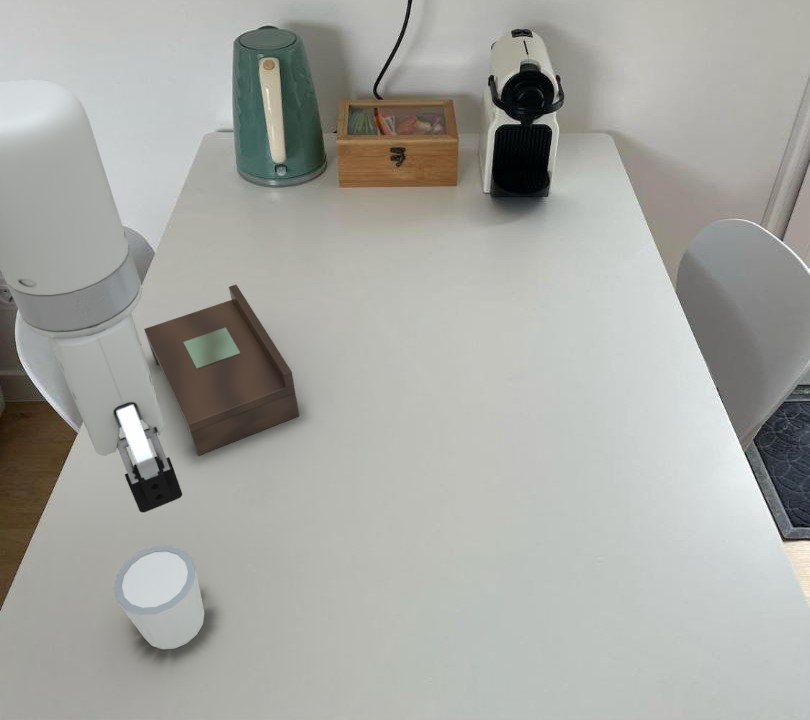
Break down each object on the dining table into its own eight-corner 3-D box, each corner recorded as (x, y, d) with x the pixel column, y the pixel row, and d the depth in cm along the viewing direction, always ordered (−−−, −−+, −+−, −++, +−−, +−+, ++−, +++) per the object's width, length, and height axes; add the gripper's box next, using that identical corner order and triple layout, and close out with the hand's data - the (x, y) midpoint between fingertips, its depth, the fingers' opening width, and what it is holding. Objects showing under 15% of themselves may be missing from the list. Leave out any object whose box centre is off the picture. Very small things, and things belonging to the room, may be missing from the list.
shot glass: (226, 607, 75) (212, 564, 70) (175, 669, 70) (156, 628, 66) (171, 575, 77) (153, 532, 73) (118, 633, 73) (96, 591, 68)
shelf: (198, 456, 88) (184, 411, 84) (154, 359, 100) (139, 315, 95) (299, 416, 92) (291, 371, 88) (245, 327, 104) (236, 284, 99)
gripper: (-5, 234, 56) (72, 406, 67) (39, 386, 44) (123, 562, 56) (104, 203, 58) (161, 375, 70) (172, 341, 47) (226, 518, 59)
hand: (144, 458), depth 63 cm, fingers open, 9 cm apart
